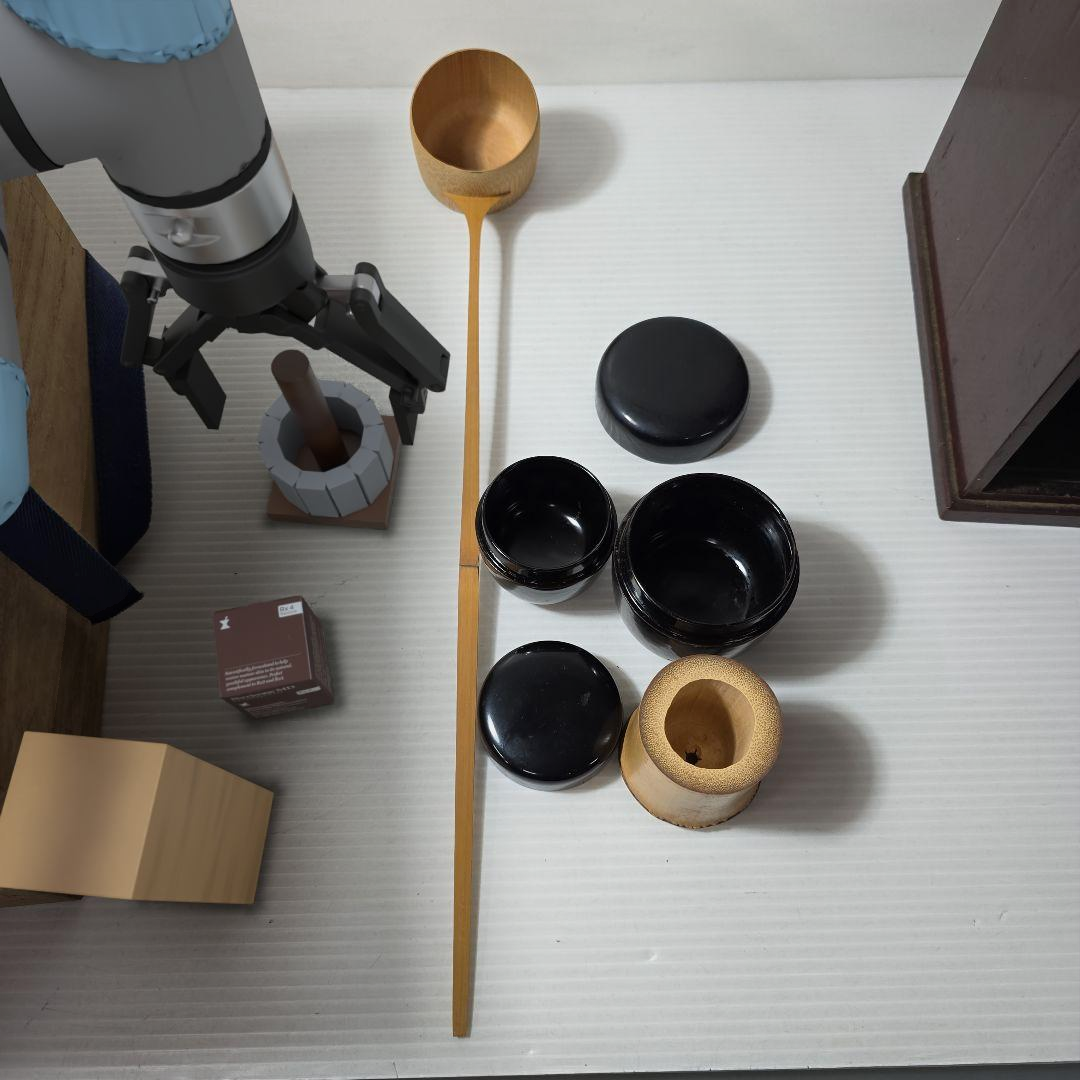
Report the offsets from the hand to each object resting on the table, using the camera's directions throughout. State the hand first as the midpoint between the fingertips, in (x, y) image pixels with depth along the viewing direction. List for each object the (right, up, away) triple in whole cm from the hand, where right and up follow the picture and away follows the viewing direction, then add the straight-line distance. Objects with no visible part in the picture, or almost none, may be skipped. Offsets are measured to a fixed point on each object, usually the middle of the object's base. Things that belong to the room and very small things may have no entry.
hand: (313, 420), depth 66 cm
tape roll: (0, -2, +6) cm, 7 cm away
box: (-2, -18, +2) cm, 18 cm away
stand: (-6, -29, -2) cm, 29 cm away
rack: (0, -3, +8) cm, 8 cm away
